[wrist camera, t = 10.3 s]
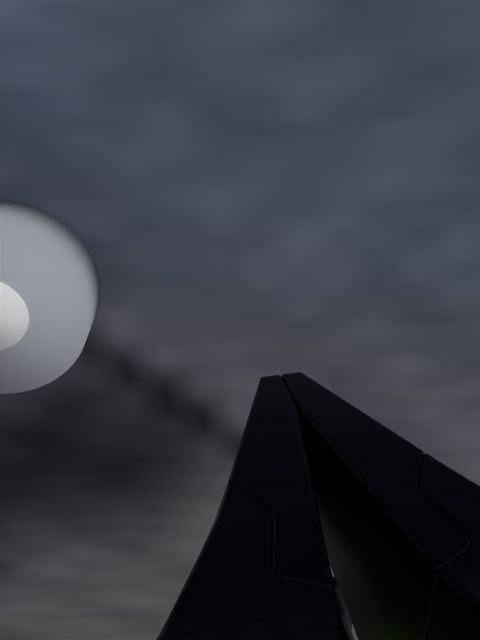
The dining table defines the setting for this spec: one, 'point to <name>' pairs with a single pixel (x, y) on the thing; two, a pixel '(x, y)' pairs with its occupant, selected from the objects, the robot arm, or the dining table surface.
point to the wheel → (42, 297)
